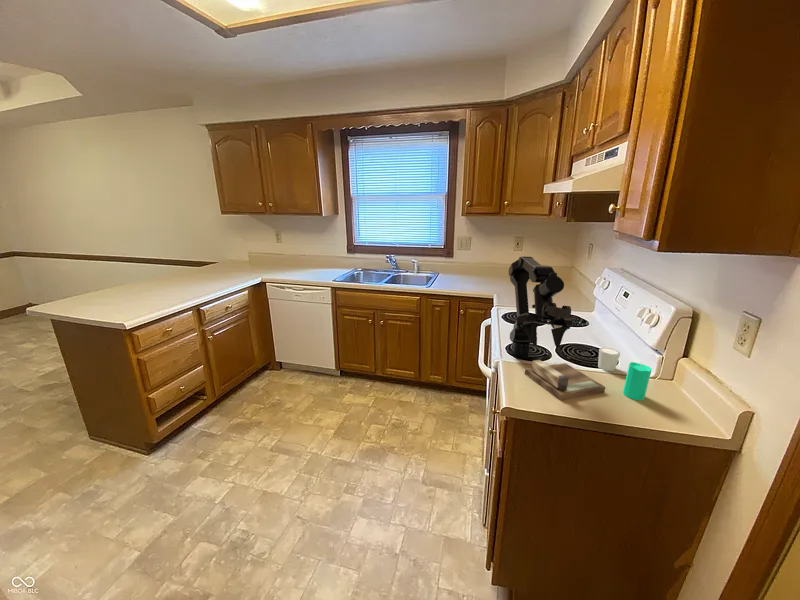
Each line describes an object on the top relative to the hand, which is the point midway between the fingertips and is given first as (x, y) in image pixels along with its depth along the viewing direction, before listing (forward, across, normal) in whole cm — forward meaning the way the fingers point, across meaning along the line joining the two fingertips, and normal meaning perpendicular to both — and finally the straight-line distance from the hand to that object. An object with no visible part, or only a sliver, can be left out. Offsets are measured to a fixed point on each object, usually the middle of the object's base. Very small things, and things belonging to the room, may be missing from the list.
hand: (546, 346), depth 114 cm
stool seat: (+11, +12, +7) cm, 17 cm away
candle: (+14, +29, -6) cm, 33 cm away
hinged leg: (+10, +5, +5) cm, 12 cm away
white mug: (+4, +36, +10) cm, 38 cm away
